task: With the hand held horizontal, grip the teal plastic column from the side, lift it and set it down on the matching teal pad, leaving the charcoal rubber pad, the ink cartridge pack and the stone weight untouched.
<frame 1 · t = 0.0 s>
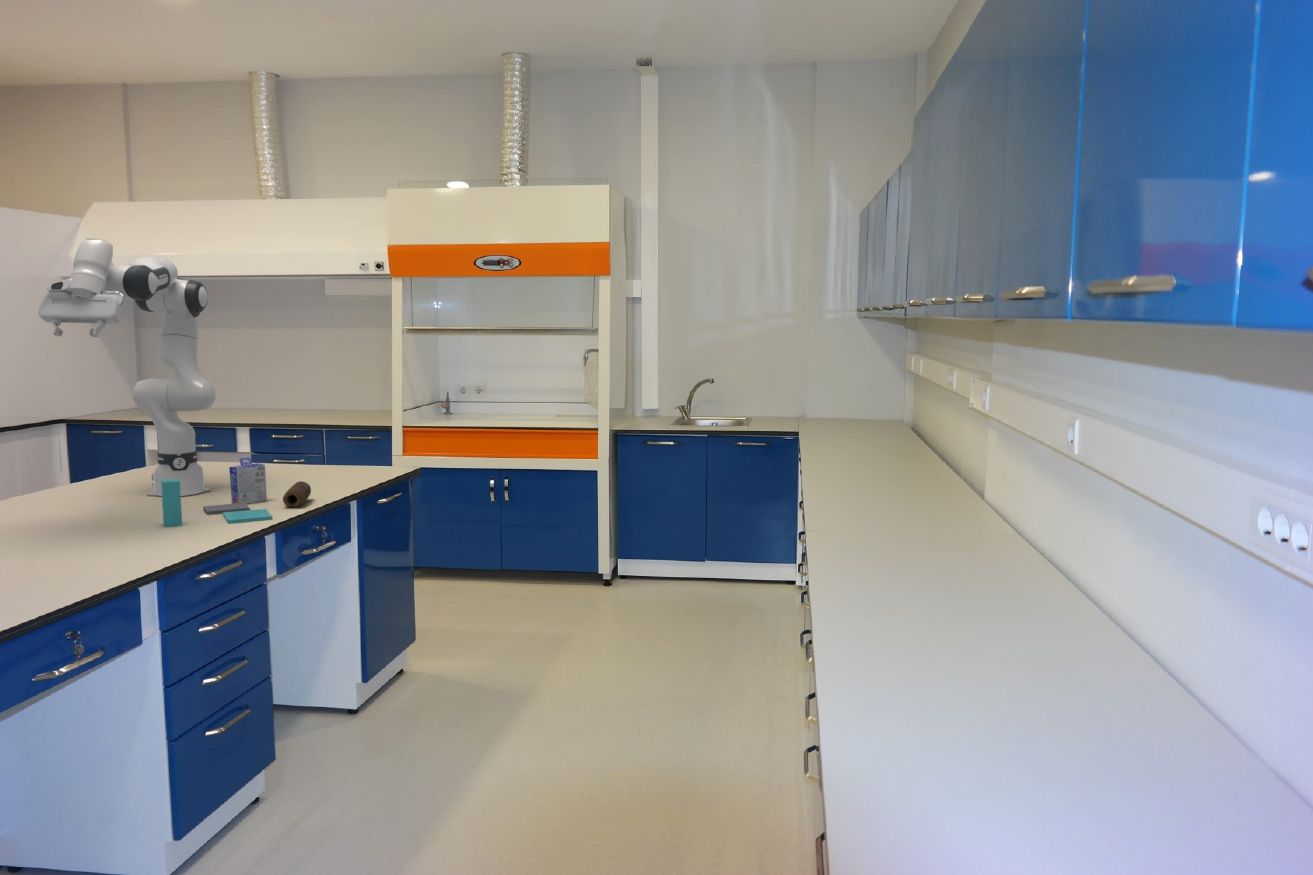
hand: (75, 335, 244), 54 cm above the counter, tool tilted 30°, fingers open, 8 cm apart
teal column: (172, 524, 262), on the counter
ink cartridge box: (249, 502, 295), on the counter
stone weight: (297, 504, 293), on the counter
teal pad: (247, 517, 272), on the counter
charcoal pad: (226, 510, 282), on the counter
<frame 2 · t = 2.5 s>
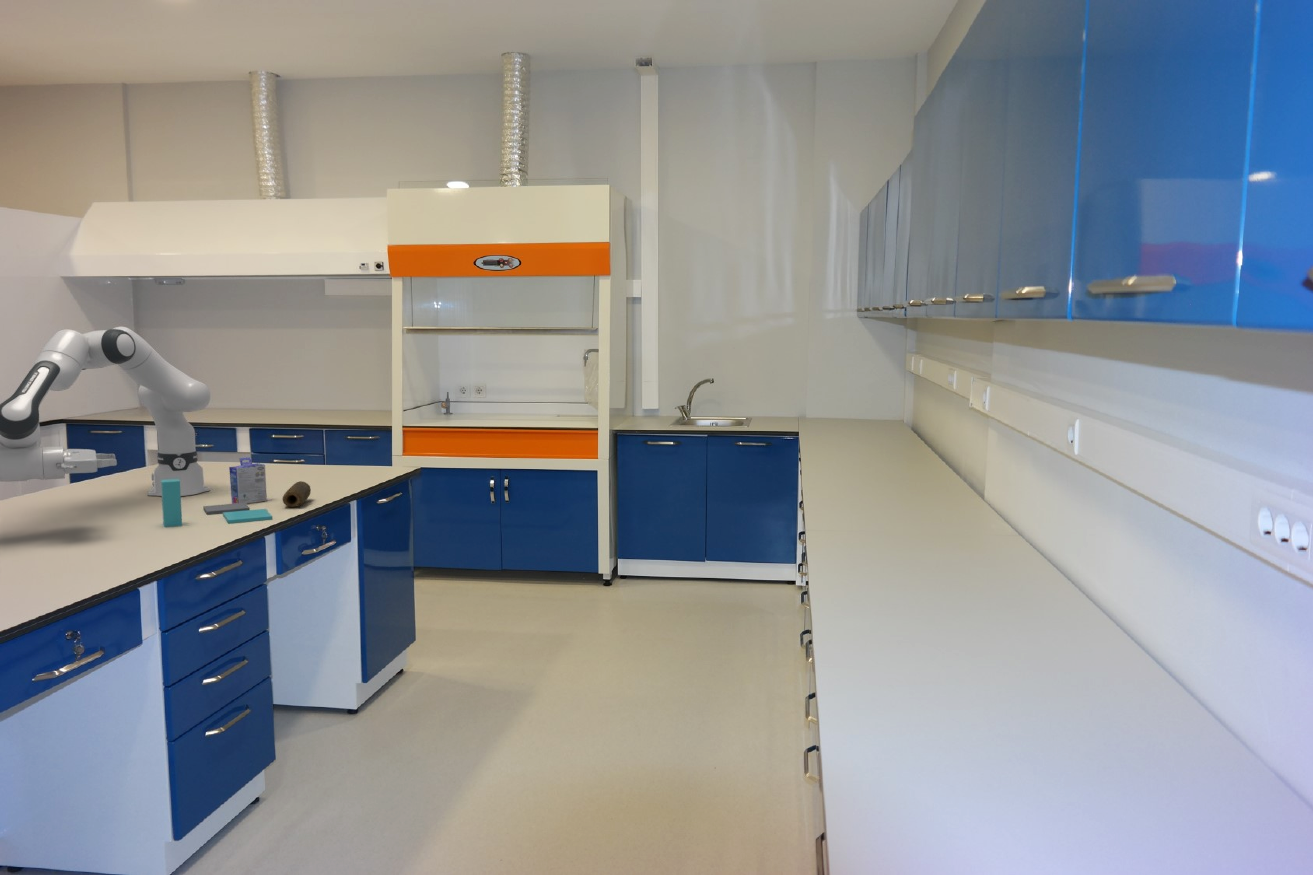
hand: (116, 459, 252), 20 cm above the counter, tool horizontal, fingers open, 8 cm apart
nothing on the counter moved.
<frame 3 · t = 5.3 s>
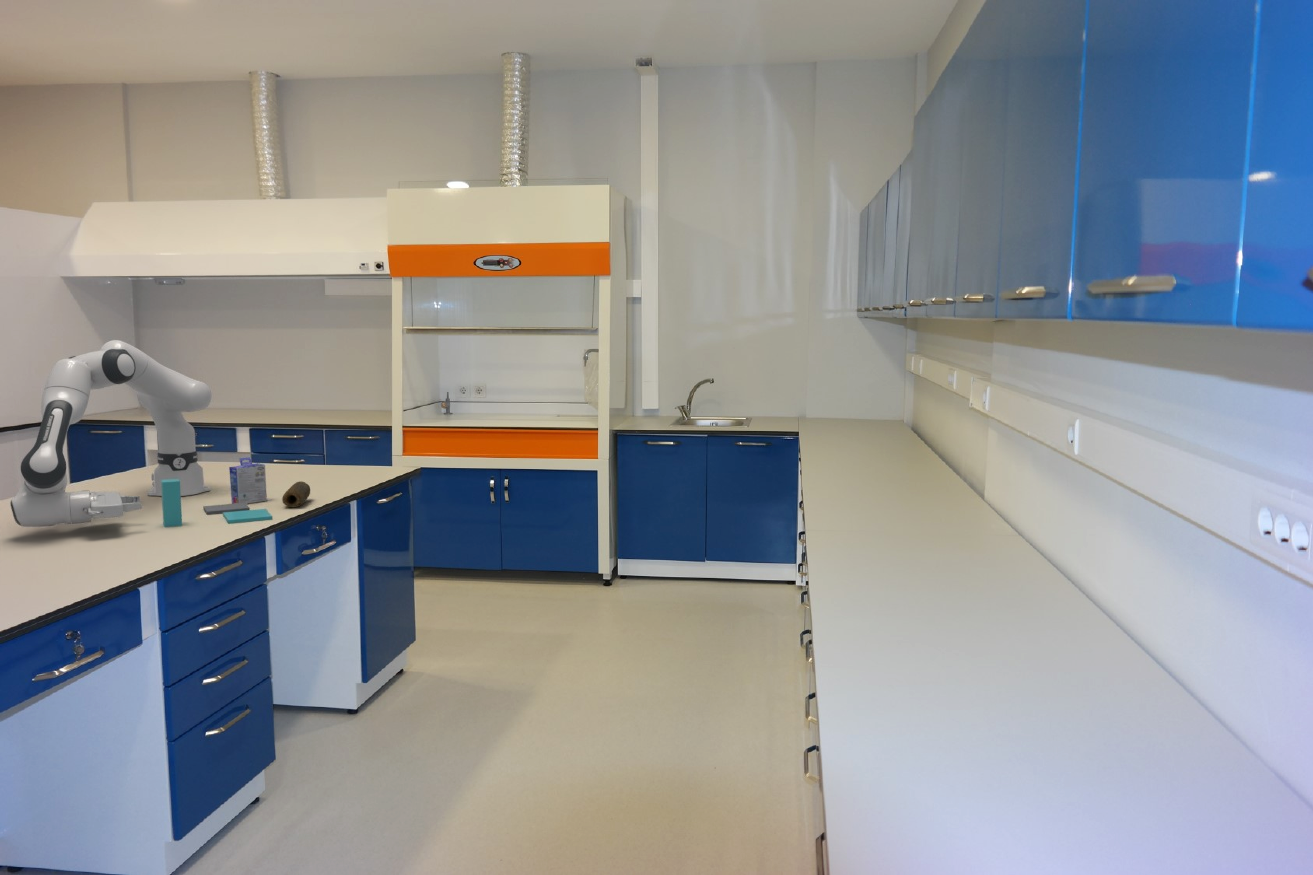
hand: (140, 502, 257), 7 cm above the counter, tool horizontal, fingers open, 8 cm apart
nothing on the counter moved.
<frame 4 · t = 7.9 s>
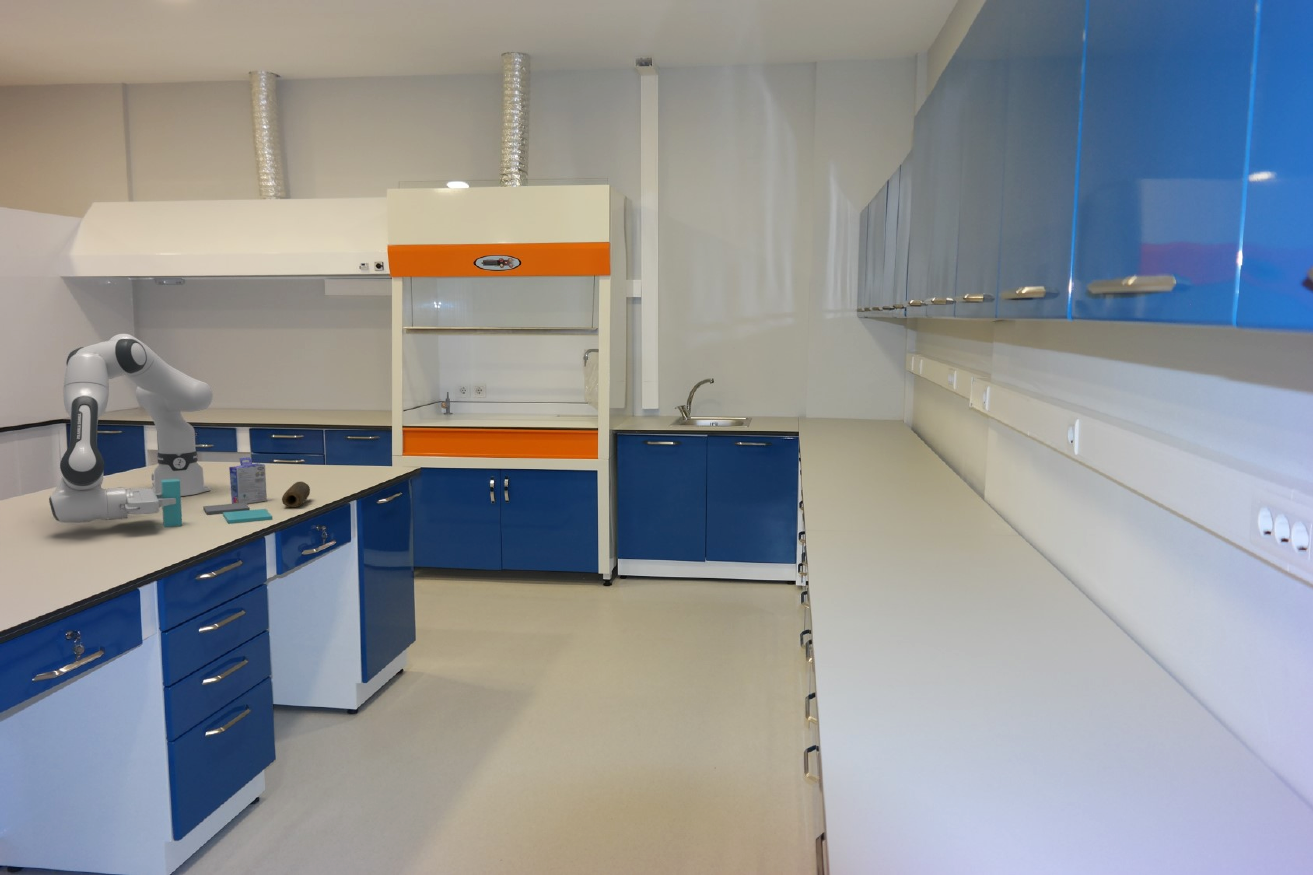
hand: (174, 498, 261), 8 cm above the counter, tool horizontal, fingers closed on teal column, 4 cm apart
teal column: (172, 524, 262), on the counter, touching gripper
everything else where it was.
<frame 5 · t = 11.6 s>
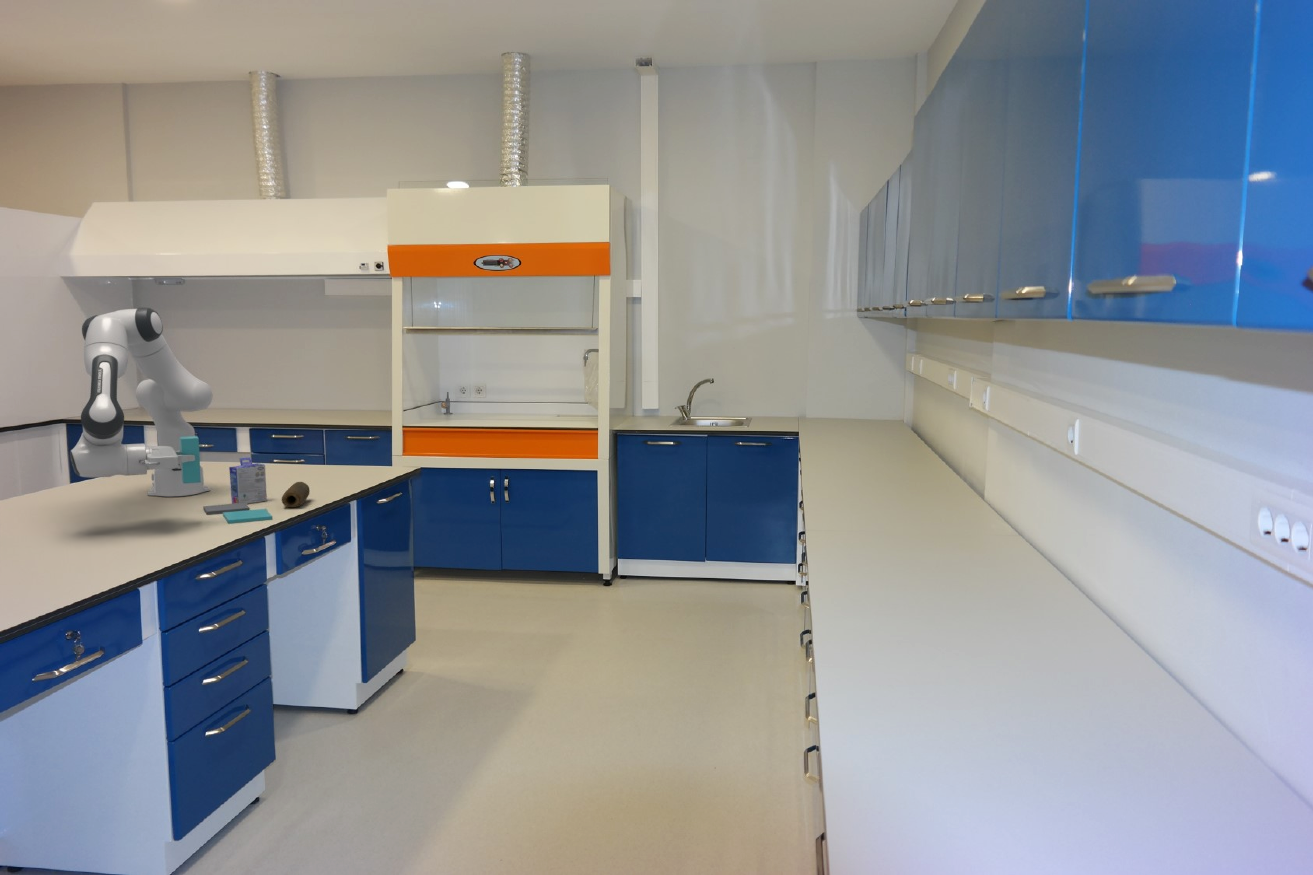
hand: (193, 456, 263), 20 cm above the counter, tool horizontal, fingers closed on teal column, 4 cm apart
teal column: (191, 481, 263), point 12 cm above the counter, touching gripper
everything else where it was.
when the fingers open (10 cm above the counter, at t = 15.5 s): teal column drops 1 cm, resting on teal pad.
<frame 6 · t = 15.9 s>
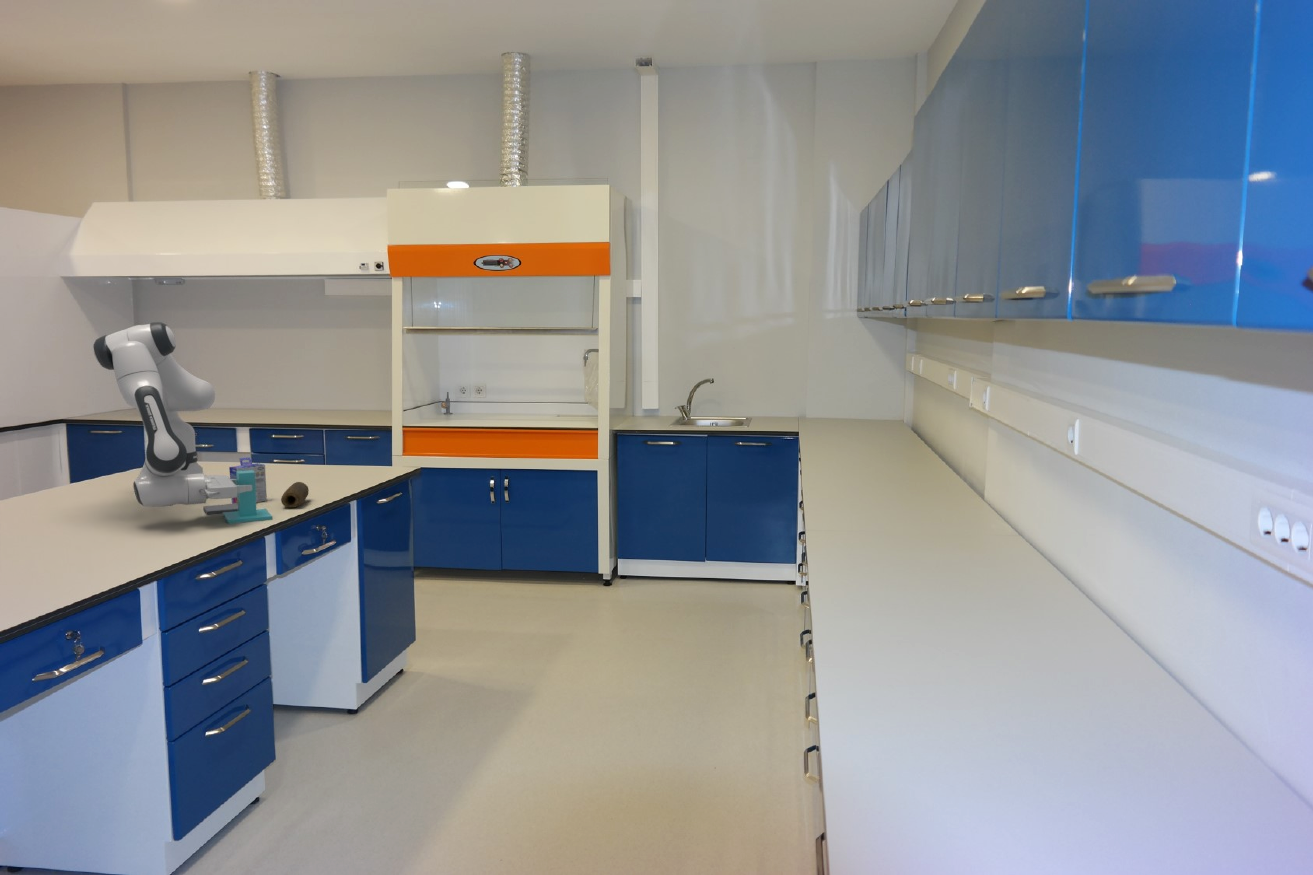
hand: (249, 484, 272), 10 cm above the counter, tool horizontal, fingers open, 8 cm apart
teal column: (247, 514, 272), point 1 cm above the counter, touching teal pad
everything else where it was.
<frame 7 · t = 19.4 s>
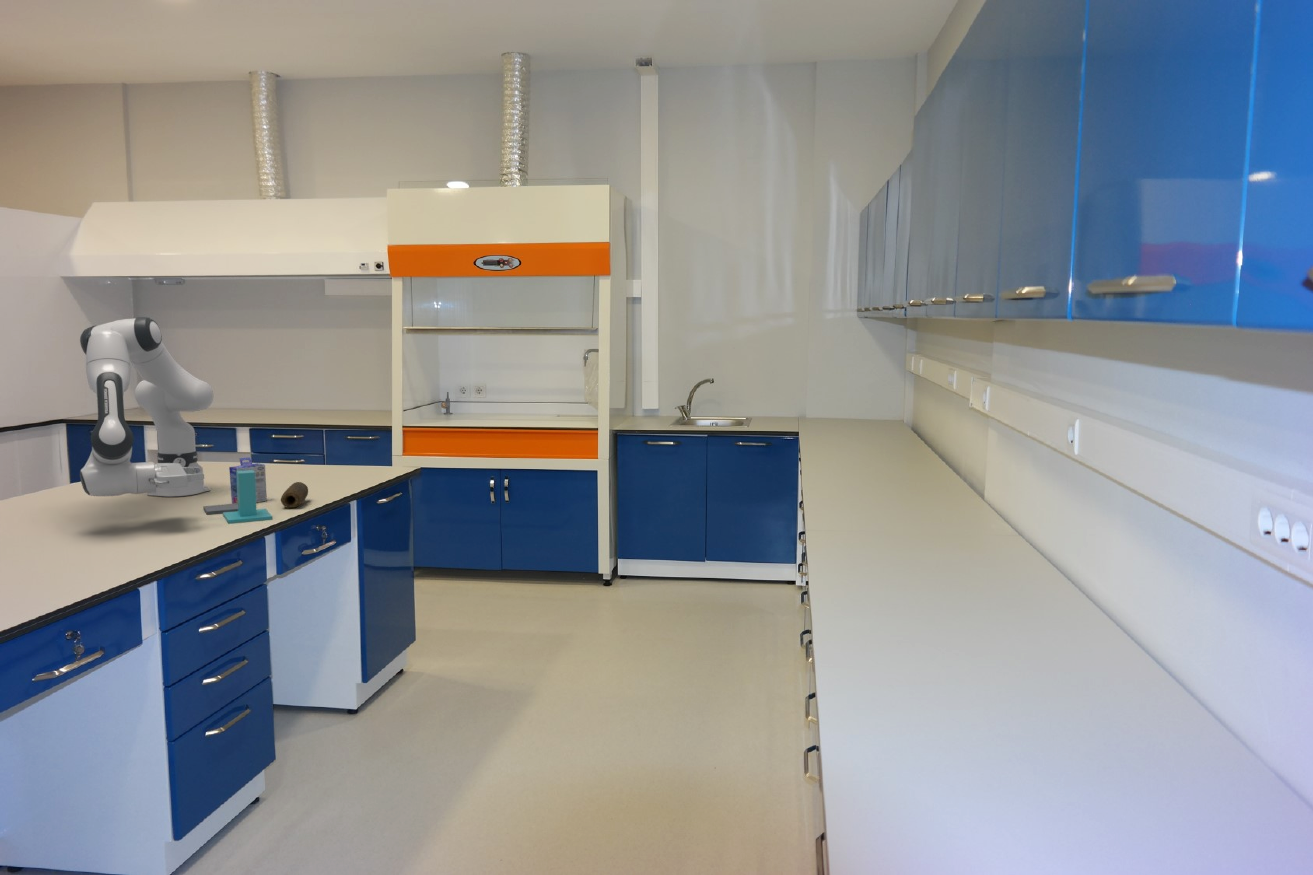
hand: (201, 473, 265), 14 cm above the counter, tool horizontal, fingers open, 8 cm apart
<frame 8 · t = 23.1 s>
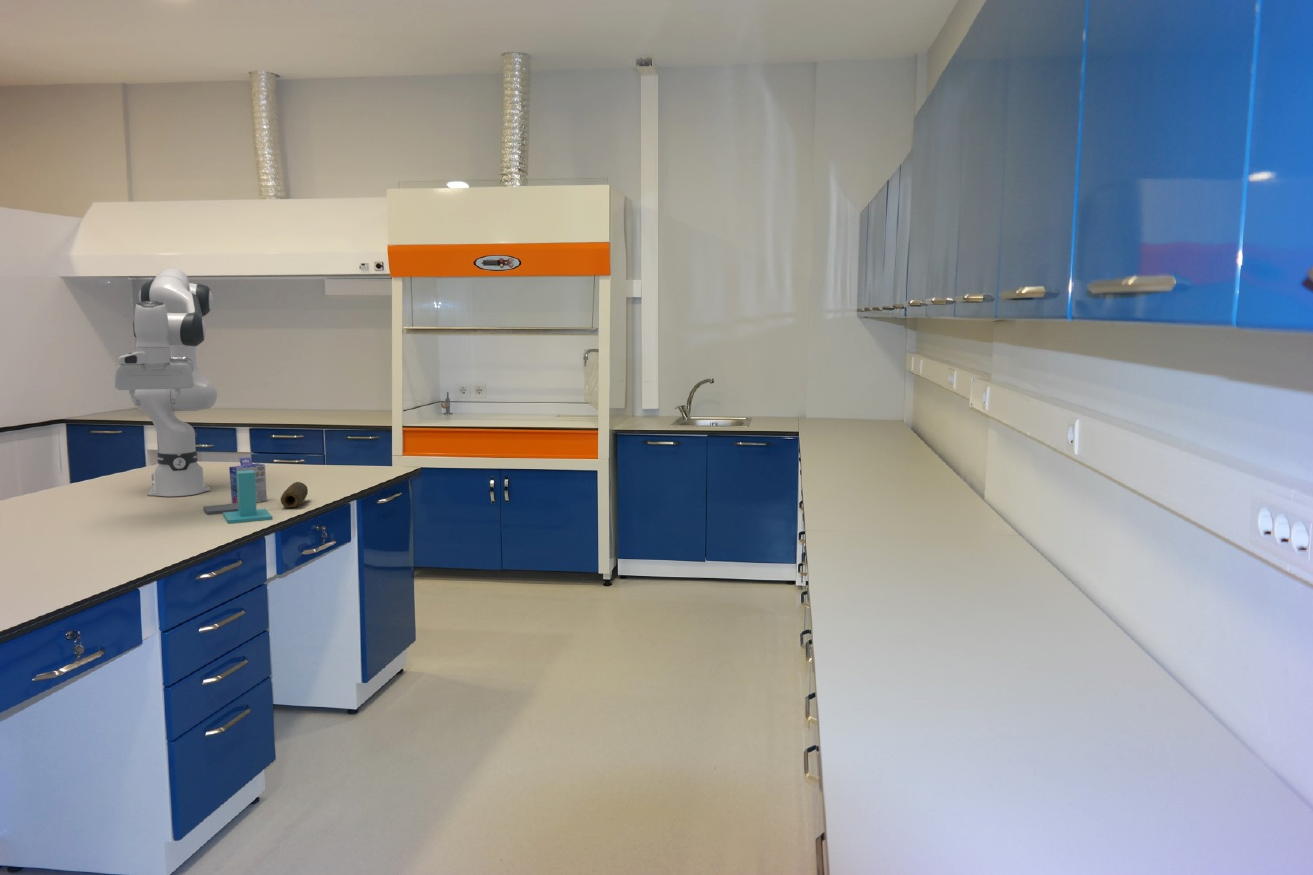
hand: (156, 404, 265), 34 cm above the counter, tool pointing down, fingers open, 8 cm apart
at the end: teal column inside the target area on the teal pad (0.1 cm from its centre), point 1.0 cm above the teal pad's base; teal column tilted 0°; the gripper is holding nothing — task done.
